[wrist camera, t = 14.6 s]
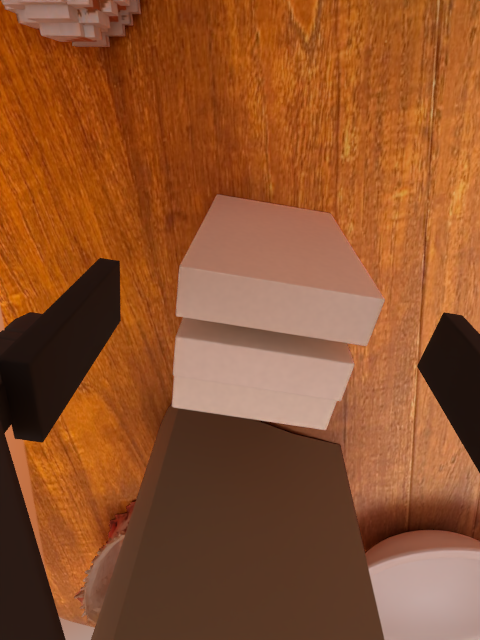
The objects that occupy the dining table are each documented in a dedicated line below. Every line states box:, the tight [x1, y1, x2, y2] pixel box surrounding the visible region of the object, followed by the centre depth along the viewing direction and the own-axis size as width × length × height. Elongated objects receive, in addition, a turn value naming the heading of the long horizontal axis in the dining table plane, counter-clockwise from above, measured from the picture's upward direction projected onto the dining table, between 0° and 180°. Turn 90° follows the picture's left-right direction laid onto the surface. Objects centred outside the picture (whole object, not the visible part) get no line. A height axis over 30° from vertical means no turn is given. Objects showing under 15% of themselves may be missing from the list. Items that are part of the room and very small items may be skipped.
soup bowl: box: [365, 530, 480, 640], centre depth 48 cm, size 24×24×7 cm
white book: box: [176, 194, 385, 346], centre depth 23 cm, size 2×9×15 cm, turn 82°
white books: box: [172, 317, 354, 430], centre depth 26 cm, size 6×9×14 cm
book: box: [91, 404, 384, 640], centre depth 31 cm, size 19×8×25 cm, turn 67°
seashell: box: [74, 502, 135, 625], centre depth 48 cm, size 17×11×15 cm
